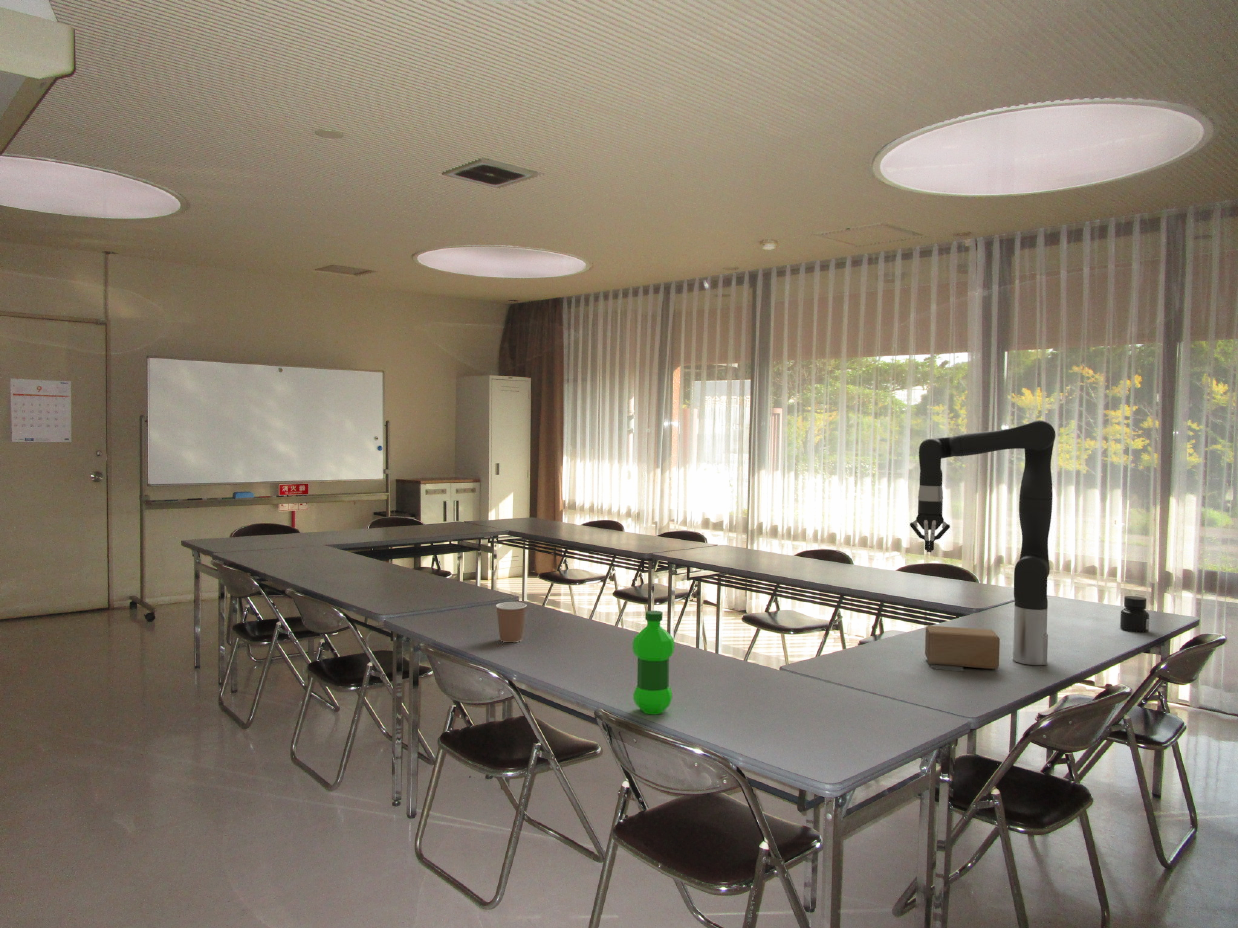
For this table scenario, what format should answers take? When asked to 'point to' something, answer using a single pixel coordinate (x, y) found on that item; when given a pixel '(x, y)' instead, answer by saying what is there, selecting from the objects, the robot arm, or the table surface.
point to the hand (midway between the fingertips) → (929, 551)
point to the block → (962, 647)
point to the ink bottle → (1134, 615)
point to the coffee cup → (511, 620)
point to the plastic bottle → (653, 665)
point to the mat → (947, 667)
